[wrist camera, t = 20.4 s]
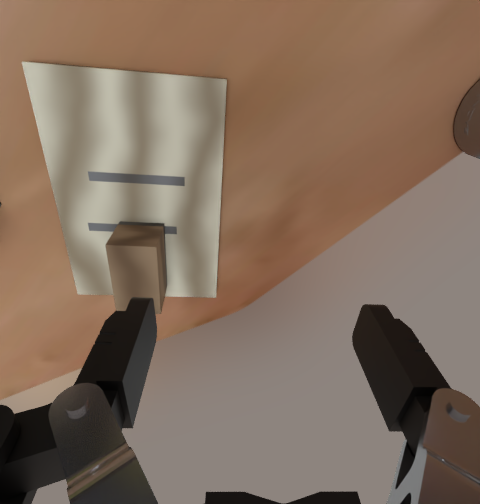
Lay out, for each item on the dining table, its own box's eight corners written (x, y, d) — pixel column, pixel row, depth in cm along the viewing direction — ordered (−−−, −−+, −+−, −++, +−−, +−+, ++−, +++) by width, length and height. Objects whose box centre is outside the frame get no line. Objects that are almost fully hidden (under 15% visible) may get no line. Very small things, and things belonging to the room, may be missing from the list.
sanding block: (164, 223, 36) (156, 247, 32) (167, 285, 41) (160, 313, 36) (119, 221, 36) (105, 244, 31) (128, 284, 40) (116, 312, 36)
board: (226, 78, 30) (226, 79, 29) (216, 290, 44) (216, 297, 42) (30, 61, 29) (21, 61, 27) (82, 287, 42) (77, 294, 41)
